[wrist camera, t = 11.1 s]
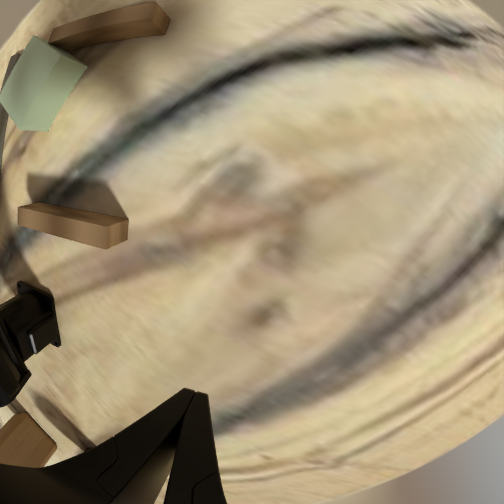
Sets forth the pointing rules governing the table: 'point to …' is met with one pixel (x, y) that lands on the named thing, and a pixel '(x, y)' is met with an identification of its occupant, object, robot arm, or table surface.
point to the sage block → (40, 85)
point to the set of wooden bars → (67, 38)
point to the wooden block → (25, 443)
